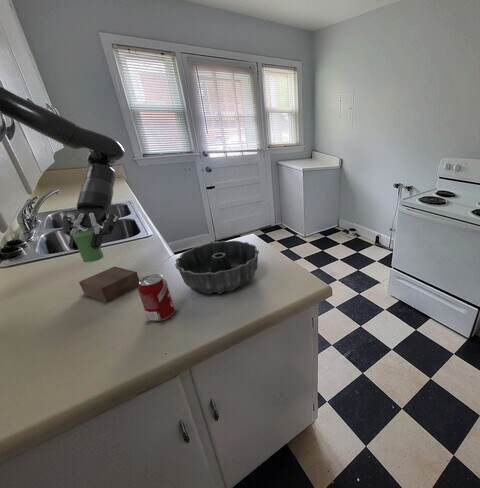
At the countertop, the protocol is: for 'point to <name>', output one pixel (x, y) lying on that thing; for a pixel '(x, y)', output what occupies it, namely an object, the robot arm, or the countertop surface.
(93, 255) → the green cylinder
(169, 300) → the soda can
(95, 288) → the walnut block
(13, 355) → the countertop surface
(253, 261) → the bundt pan
